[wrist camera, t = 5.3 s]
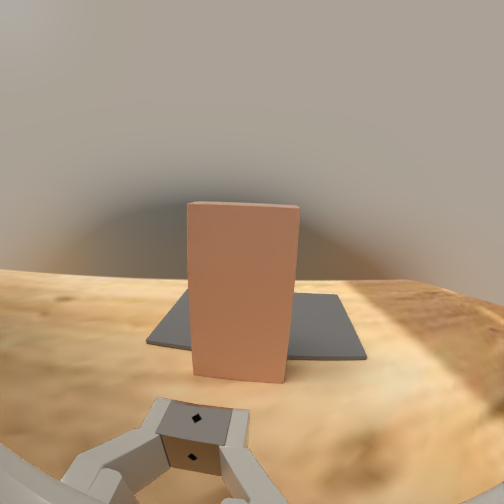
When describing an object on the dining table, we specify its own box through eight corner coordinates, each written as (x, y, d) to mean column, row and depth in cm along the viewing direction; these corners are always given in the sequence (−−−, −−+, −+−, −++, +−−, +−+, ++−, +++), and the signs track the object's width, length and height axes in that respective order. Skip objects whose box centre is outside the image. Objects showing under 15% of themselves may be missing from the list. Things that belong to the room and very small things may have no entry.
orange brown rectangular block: (193, 374, 21) (187, 203, 18) (201, 357, 23) (198, 201, 20) (283, 383, 20) (300, 208, 17) (283, 364, 23) (297, 205, 20)
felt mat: (146, 343, 24) (146, 339, 24) (190, 288, 39) (190, 285, 39) (365, 359, 23) (366, 356, 23) (336, 297, 37) (337, 294, 37)
